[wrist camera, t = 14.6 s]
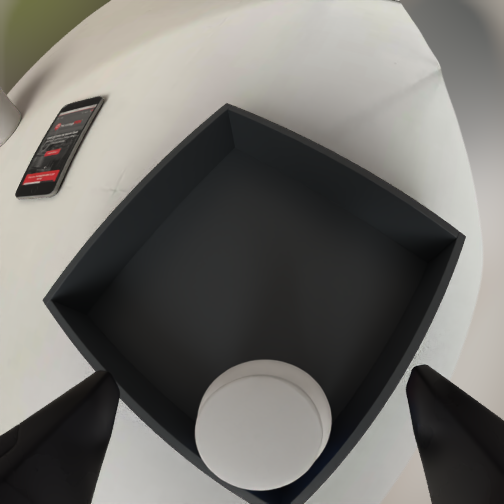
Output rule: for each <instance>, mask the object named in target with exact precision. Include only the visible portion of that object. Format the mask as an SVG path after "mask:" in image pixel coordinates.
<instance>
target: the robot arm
mask: <svg viewBox="0 0 504 504" xmlns="http://www.w3.org/2000/svg"><path fill="white" fill-rule="evenodd" d="M406 394H407V399H408V404H409V409H410V414H411V420H412V425H413V431H414V435H415V439H416V443H417V446H418V450H419V453H420V457H421V461H422V464H423V468H424V472H425V476H426V480H427V484H428V489H429V493H430V497H431V502H432V504H504V421H503V420H502V419H501V418H500V417H498V416H497V415H495V414H494V413H493V412H491V411H490V410H489V409H487V408H486V407H485V406H483V405H482V404H480V403H479V402H478V401H476V400H475V399H474V398H472V397H471V396H470V395H468V394H467V393H465V392H464V391H463V390H461V389H460V388H459V387H457V386H456V385H454V384H453V383H452V382H450V381H449V380H447V379H446V378H445V377H443V376H442V375H441V374H439V373H438V372H436V371H435V370H434V369H432V368H431V367H429V366H428V365H419V366H415V367H414V368H413V369H412V371H411V374H410V377H409V380H408V382H407V385H406ZM119 398H120V390H119V387H118V385H117V383H116V381H115V379H114V377H113V375H112V373H111V372H109V371H103V370H98V371H96V372H95V373H93V374H92V375H91V376H89V377H88V378H86V379H85V380H83V381H82V382H80V383H79V384H77V385H76V386H74V387H73V388H71V389H70V390H69V391H67V392H66V393H64V394H63V395H61V396H60V397H58V398H57V399H55V400H54V401H52V402H51V403H49V404H48V405H46V406H45V407H43V408H42V409H40V410H39V411H37V412H36V413H35V414H33V415H32V416H30V417H29V418H27V419H26V420H24V421H23V422H21V423H20V425H19V424H18V425H17V426H15V427H14V428H12V429H11V430H9V431H7V432H6V433H4V434H3V435H1V436H0V504H91V502H92V498H93V494H94V491H95V487H96V483H97V480H98V477H99V473H100V470H101V466H102V463H103V460H104V457H105V453H106V450H107V447H108V444H109V441H110V438H111V434H112V430H113V425H114V420H115V416H116V411H117V406H118V402H119Z"/></svg>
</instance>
